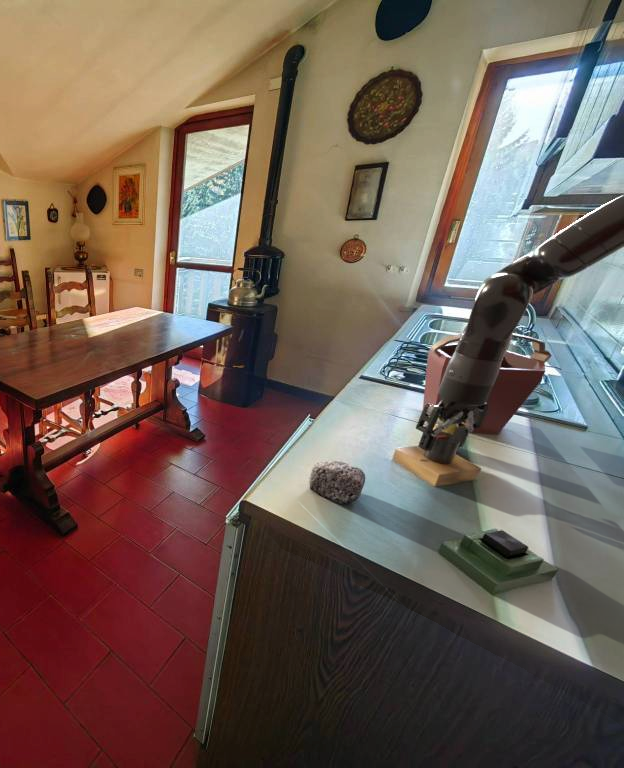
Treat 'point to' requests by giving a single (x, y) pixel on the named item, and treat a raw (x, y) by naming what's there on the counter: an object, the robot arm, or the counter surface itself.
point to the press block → (495, 564)
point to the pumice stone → (337, 481)
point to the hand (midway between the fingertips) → (440, 447)
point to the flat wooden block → (435, 467)
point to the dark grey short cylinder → (443, 448)
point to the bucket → (509, 386)
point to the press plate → (504, 544)
